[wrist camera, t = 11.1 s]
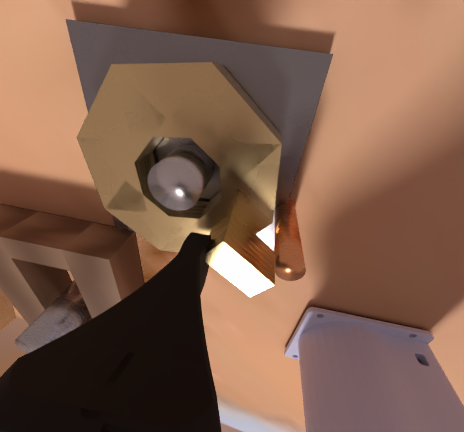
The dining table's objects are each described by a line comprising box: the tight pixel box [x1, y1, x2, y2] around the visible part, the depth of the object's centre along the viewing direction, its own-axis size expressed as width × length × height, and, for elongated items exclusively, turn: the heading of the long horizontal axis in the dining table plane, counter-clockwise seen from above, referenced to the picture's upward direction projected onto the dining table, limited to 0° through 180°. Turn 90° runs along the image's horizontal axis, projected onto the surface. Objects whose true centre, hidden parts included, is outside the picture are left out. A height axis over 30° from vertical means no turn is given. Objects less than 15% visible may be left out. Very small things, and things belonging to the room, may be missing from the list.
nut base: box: [66, 19, 333, 281], centre depth 10 cm, size 12×11×5 cm
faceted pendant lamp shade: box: [77, 62, 282, 297], centre depth 10 cm, size 9×10×4 cm
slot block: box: [0, 204, 144, 326], centre depth 19 cm, size 11×16×3 cm
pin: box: [15, 280, 90, 353], centre depth 18 cm, size 3×3×6 cm
